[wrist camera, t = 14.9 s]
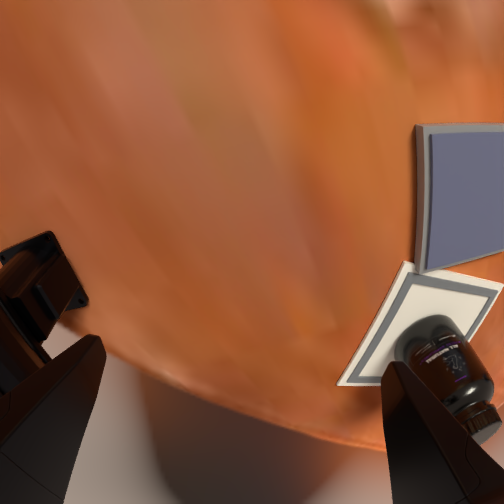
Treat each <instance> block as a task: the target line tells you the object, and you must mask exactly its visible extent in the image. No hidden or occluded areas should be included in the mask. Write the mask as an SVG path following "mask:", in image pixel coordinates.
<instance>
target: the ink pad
mask: <svg viewBox="0 0 504 504" xmlns="http://www.w3.org/2000/svg"><path fill="white" fill-rule="evenodd" d="M415 128H416V146H417V224H416V242H415V256H414V264H415V265H416V267H415V270H416V271H417V273H418V274H419V275H420V274H424V273H428V272H431V271H435V270H439V269H443V268H446V267H450V266H454V265H457V264H461V263H465V262H468V261H472V260H475V259H479V258H482V257H485V256H489V255H492V254H496V253H499V252H502V251H504V123H435V124H415Z"/></svg>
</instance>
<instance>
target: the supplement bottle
mask: <svg viewBox="0 0 504 504" xmlns="http://www.w3.org/2000/svg"><path fill="white" fill-rule="evenodd" d="M394 359H395V361H403V362H404V363H405V364H406V365H407V366H408V367H409V368H410V369H411V370H412V371H413V372H414V373H415V374H416V376H417V377H418V378H419V379H420V380H421V381H422V382H423V383H424V384H425V385H426V386H427V388H428V389H429V390H430V391H431V392H432V393H433V394H434V395H435V396H436V397H437V398H438V400H439V401H440V402H441V403H442V404H443V405H444V406H445V407H446V408H447V410H448V411H449V412H450V413H451V414H452V415H453V416H454V417H455V418H456V420H457V421H458V422H459V423H460V424H461V425H462V426H463V427H464V429H465V430H466V431H467V432H468V434H470V435H471V436H472V438H473V439H474V440H475V441H476V442H477V443H478V444H479V445H481V444H483V443H484V442H485V441H487V440H488V439H489V438H490V437H491V436H493V435H494V434H495V433H496V432H497V430H499V428H500V427H501V425H502V421H501V419H500V417H499V415H498V413H497V411H496V408H495V406H494V405H493V404H490V401H491V399H492V397H493V393H494V382H493V380H492V378H491V376H490V374H489V373H488V371H487V369H486V368H485V366H484V365H483V363H482V362H481V360H480V359H479V357H478V356H477V354H476V353H475V351H474V350H473V348H472V347H471V345H470V344H469V342H468V341H467V339H466V338H465V336H464V335H463V333H462V332H461V331H460V329H459V328H458V327H457V325H456V324H455V322H454V321H453V320H452V319H451V318H450V317H448V316H446V315H440V314H437V315H431V316H427V317H425V318H423V319H421V320H419V321H417V322H415V323H414V324H413V325H411V326H410V327H409V328H408V329H407V330H406V331H405V332H404V333H403V334H402V335H401V337H400V338H399V340H398V342H397V344H396V346H395V350H394Z"/></svg>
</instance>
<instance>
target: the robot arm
mask: <svg viewBox="0 0 504 504" xmlns="http://www.w3.org/2000/svg"><path fill="white" fill-rule="evenodd" d="M47 236H48V237H49V238H50V240H49V239H48V238H47ZM0 261H1V263H2V265H3V267H2V268H1V269H0V504H63V503H64V499H65V494H66V491H67V488H68V484H69V481H70V477H71V474H72V470H73V467H74V464H75V461H76V457H77V454H78V451H79V448H80V445H81V442H82V438H83V436H84V433H85V430H86V427H87V424H88V421H89V418H90V415H91V412H92V410H93V406H94V404H95V401H96V398H97V394H98V390H99V386H100V382H101V378H102V374H103V370H104V366H105V362H106V351H105V349H104V346H103V343H102V340H101V338H100V337H99V336H97V335H92V334H88V335H86V336H84V337H83V338H81V339H80V340H79V341H77V342H76V343H75V344H73V345H72V346H70V347H69V348H68V349H66V350H65V351H64V352H62V353H61V354H59V355H58V356H57V357H55V358H54V359H51V358H50V356H49V355H48V354H47V353H46V351H45V350H44V349H43V347H42V346H41V345H42V343H43V341H44V340H46V339H47V338H48V336H49V334H50V332H51V331H52V329H53V327H54V325H55V324H56V322H57V320H58V319H60V317H61V315H62V314H63V312H64V311H67V310H71V309H75V308H80V307H84V306H86V304H87V303H88V297H87V295H86V294H85V292H84V290H83V288H82V287H81V285H80V283H79V281H78V279H77V278H76V276H75V274H74V272H73V270H72V268H71V266H70V265H69V263H68V261H67V259H66V257H65V255H64V253H63V251H62V249H61V247H60V245H59V243H58V241H57V239H56V237H55V235H54V234H53V232H51V231H45V232H43V233H40V234H38V235H36V236H33V237H31V238H29V239H27V240H24V241H22V242H20V243H17V244H15V245H13V246H11V247H9V248H6V249H4V250H2V251H1V252H0ZM81 299H82V300H83V301H82V300H81ZM381 397H382V416H383V429H384V436H385V442H386V449H387V456H388V464H389V472H390V480H391V490H392V499H393V504H504V469H503V468H502V467H501V466H500V465H499V464H497V462H495V461H494V460H493V459H492V458H491V457H490V456H489V455H488V454H487V453H486V452H485V451H484V450H483V449H482V448H481V446H480V445H479V444H478V443H477V442H476V441H475V440H474V439H473V438H472V436H471V435H470V434H468V432H467V431H466V430H465V429H464V427H463V426H462V425H461V424H460V423H459V422H458V421H457V420H456V418H455V417H454V416H453V415H452V414H451V413H450V412H449V411H448V410H447V408H446V407H445V406H444V405H443V404H442V403H441V402H440V401H439V400H438V398H437V397H436V396H435V395H434V394H433V393H432V392H431V391H430V390H429V389H428V388H427V386H426V385H425V384H424V383H423V382H422V381H421V380H420V379H419V378H418V377H417V376H416V374H415V373H414V372H413V371H412V370H411V369H410V368H409V367H408V366H407V365H406V364H405V363H404V362H403V361H391V362H390V363H389V364H388V366H387V368H386V370H385V372H384V374H383V376H382V378H381Z"/></svg>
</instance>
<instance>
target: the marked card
mask: <svg viewBox="0 0 504 504" xmlns="http://www.w3.org/2000/svg"><path fill="white" fill-rule="evenodd" d="M415 267H416V265H415V264H414V263H412V262H408V261H403V263H402V265H401V267H400V269H399V271H398V273H397V275H396V277H395V279H394V282H393V284H392V286H391V288H390V290H389V292H388V294H387V296H386V297H385V299H384V301H383V303H382V305H381V307H380V309H379V311H378V313H377V315H376V317H375V318H374V320H373V322H372V324H371V326H370V328H369V329H368V331H367V333H366V335H365V337H364V338H363V340H362V342H361V344H360V345H359V347H358V349H357V350H356V352H355V354H354V355H353V357H352V359H351V361H350V362H349V364H348V365H347V367H346V369H345V370H344V372H343V374H342V375H341V377H340V378H339V380H338V382H337V383H336V384H337V386H381V378H382V376H383V374H384V372H385V370H386V368H387V366H388V364H389V363H390V362H391V361H395V359H394V350H395V346H396V344H397V342H398V340H399V338H400V337H401V335H402V334H403V333H404V332H405V331H406V330H407V329H408V328H409V327H410V326H411V325H413V324H414V323H415V322H417V321H419V320H421V319H423V318H425V317H427V316H431V315H437V314H440V315H446V316H448V317H450V318H451V319H452V320H453V321H454V322H455V324H456V325H457V327H458V328H459V329H460V331H461V332H462V333H463V335H464V336H465V338H466V339H467V341H468V342H469V341H470V340H471V338H472V337H473V335H474V334H475V332H476V331H477V329H478V328H479V326H480V325H481V323H482V322H483V320H484V318H485V317H486V315H487V314H488V312H489V310H490V309H491V307H492V305H493V304H494V302H495V300H496V299H497V297H498V295H499V293H500V292H501V290H502V288H503V286H504V285H503V284H502V283H498V282H494V281H490V280H486V279H482V278H477V277H473V276H469V275H465V274H460V273H456V272H452V271H447V270H443V269H439V270H435V271H431V272H428V273H424V274H420V275H419V274H418V273H417V271H416V270H415Z"/></svg>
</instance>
